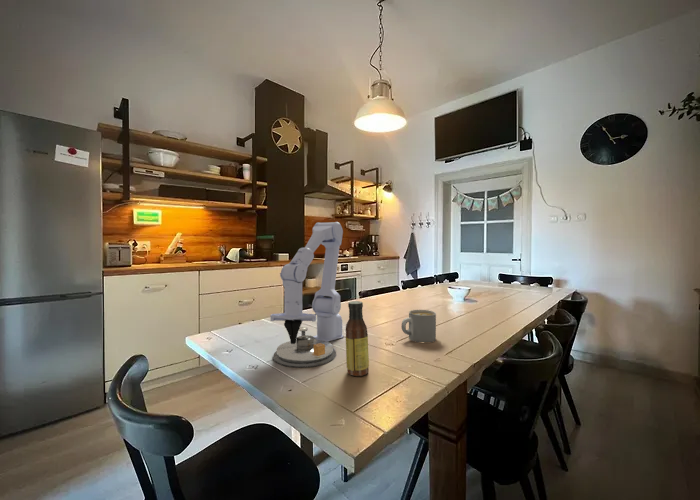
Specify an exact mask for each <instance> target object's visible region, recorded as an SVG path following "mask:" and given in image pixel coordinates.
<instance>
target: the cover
mask: <svg viewBox="0 0 700 500" xmlns="http://www.w3.org/2000/svg"><path fill="white" fill-rule="evenodd" d="M313 336H314V335H307V334H305V335H304V336H301V335H300V336H297V339H296V340H297V350H300V351H309V350H312V349H314V339H315V338H314V337H313Z"/></svg>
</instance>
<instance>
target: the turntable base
mask: <svg viewBox="0 0 700 500" xmlns="http://www.w3.org/2000/svg"><path fill="white" fill-rule="evenodd" d="M336 356H337V351H336V349H335V348H334V347H333V354H332V355H331V356H330V357H328V358H326V359H324V360H321V361H317V362H312V363H291V362H286V361H283V360H281V359H279V358H278V357H277V350H276V351H275V352H274V353H273V361H274V362H275V363H277V364H278V365H281V366H283V367H284V366H285V367H289V368H296V369H297V368H305V369H306V368H314V367H319V366H322V365H326V364H328V363H331V362H332V361H334V360H335V358H336Z"/></svg>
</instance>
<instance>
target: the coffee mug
mask: <svg viewBox="0 0 700 500" xmlns="http://www.w3.org/2000/svg"><path fill="white" fill-rule="evenodd" d="M407 324H408V329H406V328H407V327H406V326H407ZM401 331H402V332H403V333H404V334H405V335H408V339H409V340H410V341H411V342H415V341H416V342H415V343H419V342H431V343H434V342H436V340H437V332H436V331H437V312H435V311H432V310H429V309H413V310H409V311H408V317H406V318H404V319H403V320H402V322H401ZM433 341H434V342H433Z"/></svg>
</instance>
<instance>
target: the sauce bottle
mask: <svg viewBox="0 0 700 500" xmlns="http://www.w3.org/2000/svg"><path fill="white" fill-rule="evenodd" d="M347 304H348V305H347V307H348V318H349V319H348V321H347V322H346V324H345V355H346V356H345V358H346V359H345V361H346V369H347V374H348V375H351V376H354V377H362V376H366V375H367V374H368V373H369V368H370V367H369V366H370V361H369V360H370V359H369V337H368V334H369V333H368V326H367V325H366V323H365V321H364V315H363V307H364V305H363V302H362V301H360V300H353V301H352V300H351V301H349V302H348V303H347Z"/></svg>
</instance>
